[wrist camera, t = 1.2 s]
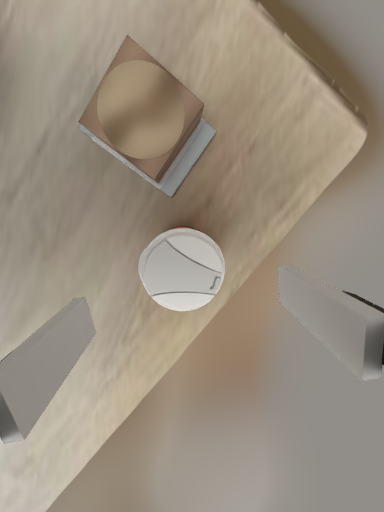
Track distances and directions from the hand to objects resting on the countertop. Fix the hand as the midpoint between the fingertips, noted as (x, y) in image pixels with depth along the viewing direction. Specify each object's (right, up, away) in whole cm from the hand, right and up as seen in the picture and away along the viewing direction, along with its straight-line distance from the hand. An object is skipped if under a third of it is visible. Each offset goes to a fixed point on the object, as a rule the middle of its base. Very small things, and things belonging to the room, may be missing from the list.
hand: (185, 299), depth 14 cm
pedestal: (-6, +20, +14) cm, 25 cm away
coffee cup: (-1, +5, +19) cm, 20 cm away
